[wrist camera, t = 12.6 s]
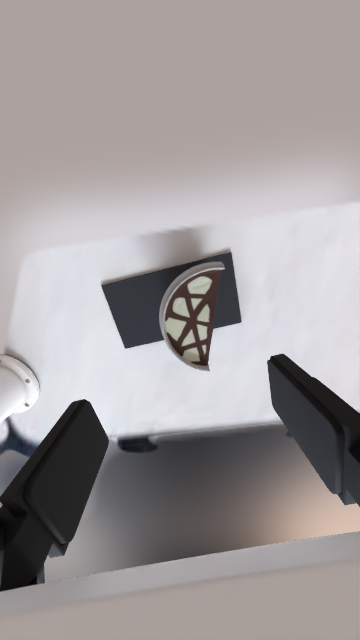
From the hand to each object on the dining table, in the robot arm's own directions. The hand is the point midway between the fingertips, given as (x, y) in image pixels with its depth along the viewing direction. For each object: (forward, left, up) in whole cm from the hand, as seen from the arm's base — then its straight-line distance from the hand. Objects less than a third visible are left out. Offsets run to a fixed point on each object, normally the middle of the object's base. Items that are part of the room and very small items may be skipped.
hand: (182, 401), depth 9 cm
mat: (-1, +1, -20) cm, 20 cm away
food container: (+1, +1, -20) cm, 20 cm away
